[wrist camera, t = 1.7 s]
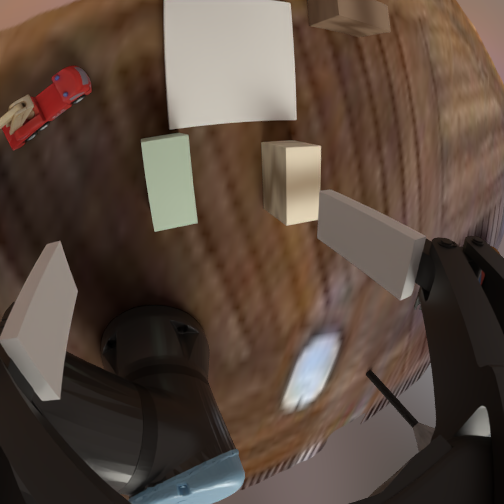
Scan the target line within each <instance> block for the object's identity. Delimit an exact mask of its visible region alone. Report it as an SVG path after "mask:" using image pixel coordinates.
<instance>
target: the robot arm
mask: <svg viewBox="0 0 504 504" xmlns="http://www.w3.org/2000/svg"><path fill="white" fill-rule="evenodd" d="M317 238H318V239H319V240H321V241H322V242H323V243H325V244H326V245H328V246H329V247H330V248H332V249H333V250H334V251H336V252H337V253H338V254H340V255H341V256H343V257H344V258H345V259H347V260H348V261H349V262H351V263H352V264H353V265H355V266H356V267H357V268H359V269H360V270H361V271H363V272H364V273H365V274H367V275H368V276H369V277H370V278H372V279H373V280H374V281H376V282H377V283H378V284H380V285H381V286H382V287H383V288H385V289H386V290H387V291H389V292H390V293H391V294H392V295H394V296H395V297H396V298H397V299H399V300H402V299H405V298H407V297H409V296H411V295H412V292H413V288H414V285H415V283H417V284H418V285H419V286H420V289H419V292H418V296H417V299H416V302H415V305H414V309H416V308H417V306H418V305H419V304H421V306H420V309H419V310H422V314H423V319H424V324H425V329H426V335H427V340H428V347H429V353H430V360H431V367H432V376H433V384H434V395H435V408H436V427H435V430H434V433H433V435H432V438H431V442H430V444H429V445H427V446H426V447H425V448H424V449H423V450H421V451H420V452H419V453H418V454H416V455H415V456H414V457H413V458H411V459H410V460H409V461H408V462H407V463H406V464H405V465H404V466H403V467H402V468H401V469H399V471H397V472H396V473H395V474H394V475H393V476H392V477H390V478H389V479H388V480H387V481H386V482H384V483H383V484H382V485H381V486H380V487H379V488H377V489H376V490H375V491H374V492H373V493H372V494H371V495H370V496H369V497H368V498H365V499H362V500H360V501H356V502H353V503H350V504H504V258H503V257H502V256H501V255H500V254H499V253H498V252H497V251H495V250H494V249H493V248H492V247H491V246H490V245H489V244H488V243H487V242H485V241H484V240H483V239H481V238H480V237H477V236H467V237H466V238H465V241H464V245H463V247H459V246H458V245H457V244H456V243H455V242H453V241H451V240H449V239H447V238H434V239H433V240H432V242H431V241H429V240H428V239H426V236H424V235H423V234H421V233H419V232H417V231H415V230H413V229H411V228H409V227H408V226H406V225H404V224H402V223H400V222H398V221H396V220H394V219H392V218H390V217H388V216H386V215H384V214H382V213H380V212H378V211H376V210H374V209H372V208H370V207H368V206H365V205H363V204H361V203H359V202H357V201H355V200H353V199H351V198H348V197H346V196H344V195H342V194H340V193H337V192H335V191H333V190H324V191H319V211H318V232H317ZM482 271H483V272H484V274H485V277H484V279H483V282H482V285H480V283H479V281H478V280H479V277H480V275H481V272H482ZM77 293H78V290H77V287H76V285H75V282H74V279H73V277H72V274H71V271H70V268H69V266H68V263H67V260H66V257H65V254H64V251H63V247H62V244H61V241H57V242H53V243H49V244H47V245H46V246H45V248H44V250H43V251H42V253H41V255H40V256H39V258H38V260H37V262H36V263H35V265H34V267H33V269H32V270H31V272H30V274H29V276H28V278H27V280H26V282H25V284H24V285H23V287H22V289H21V291H20V293H19V295H18V297H17V300H16V302H13V303H12V304H11V305H10V307H9V308H8V309H7V310H6V312H5V314H4V316H3V318H2V321H1V322H0V504H212V503H215V502H217V501H220V500H222V499H224V498H226V497H228V496H230V495H231V494H233V493H234V492H236V491H237V490H238V489H239V488H240V487H241V486H242V484H243V481H244V478H245V473H244V470H243V467H242V465H241V462H240V459H239V456H238V454H239V451H238V450H237V449H236V448H235V445H234V443H233V441H232V439H231V436H230V434H229V432H228V430H227V427H226V425H225V423H224V420H223V418H222V416H221V413H220V411H219V408H218V406H217V403H216V401H215V399H214V396H213V393H212V391H211V388H210V386H209V383H208V369H209V345H208V342H207V339H206V336H205V334H204V331H203V329H202V327H201V326H200V324H199V323H198V322H197V321H196V320H195V319H194V318H193V317H192V316H190V315H189V314H187V313H185V312H183V311H181V310H179V309H176V308H172V307H168V306H160V305H150V306H142V307H137V308H134V309H131V310H128V311H126V312H124V313H122V314H120V315H119V316H117V317H116V318H115V319H114V320H113V321H112V322H111V323H110V324H109V325H108V326H107V328H106V329H105V331H104V334H103V337H102V341H101V358H102V363H103V366H104V369H105V370H104V369H102V368H100V367H97V366H95V365H93V364H91V363H89V362H87V361H85V360H83V359H81V358H79V357H77V356H75V355H73V354H71V353H69V352H67V351H66V348H67V342H68V336H69V330H70V325H71V320H72V315H73V311H74V306H75V302H76V297H77ZM490 433H491V437H487V436H488V435H489V434H490ZM120 494H125V495H128V496H129V501H128V500H126V499H125V498H124V497H123V496H121V495H120Z"/></svg>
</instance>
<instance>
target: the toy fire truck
mask: <svg viewBox="0 0 504 504" xmlns="http://www.w3.org/2000/svg"><path fill="white" fill-rule="evenodd" d="M52 81H53V84H51V85H50V86H48V87H47V88H46V89H45V90H43V91H42V92H41V93H40V94H38V95H37V96H36V97H30V96H29V95H26V96H24V97H23V98H21V99H19V100H17V101H15V102H13V103H12V104H11V105H10V106H9V109H8V112H7V113H6V114H4V115H3V116H2V117H1V118H0V129H1V128H2V130H3V132H4V134H5V136H6V138H7V140H8V142H9V144H10V146H11V148H12V149H13V150H15V149H18V148H21V147H22V146H23V145H24V144H25V143H26V142H25V140H26V141H29V140H31V139H32V138H34V137H35V136H36V135H37V131H36V130H38V131H41V130H43V129H44V128H46V127H47V126H48V125H49V121H53V120H54V119H55V118H56V117H58V116H59V115H60V114H62V113H63V112H64V111H66V110H67V109H68V108H70V107H71V106H72V104H76V103H78V102H80V101H81V100H82V99H84V98H85V95H88V94H90V93H91V92H92V86H91V81H90V79H89V77H88V75H87V74H86V72H85V71H84V70H83V69H81V68H80V67H78V66H69V67H66V68H64V69H62V70H61V71H59V72H58V73H57V74H55V75H54V76H53V77H52Z"/></svg>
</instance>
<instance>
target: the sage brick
mask: <svg viewBox="0 0 504 504" xmlns="http://www.w3.org/2000/svg"><path fill="white" fill-rule="evenodd" d="M141 147H142V155H143V163H144V170H145V177H146V184H147V190H148V197H149V203H150V209H151V214H152V220H153V225H154V231H155V232H156V231H161V230H166V229H170V228H175V227H180V226H185V225H190V224H195V223H198V221H197V213H196V205H195V196H194V188H193V178H192V169H191V159H190V148H189V137H188V135H186V134H182V133H174V134H167V135H161V136H155V137H149V138H143V139H141Z"/></svg>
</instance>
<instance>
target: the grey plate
mask: <svg viewBox="0 0 504 504" xmlns="http://www.w3.org/2000/svg"><path fill="white" fill-rule="evenodd" d="M163 29H164V61H165V81H166V97H167V110H168V122H169V130H171V129H178V128H186V127H194V126H202V125H212V124H222V123H235V122H250V121H271V120H297V116H296V86H295V64H294V46H293V30H292V16H291V4H290V3H287V2H281V1H274V0H163Z"/></svg>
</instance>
